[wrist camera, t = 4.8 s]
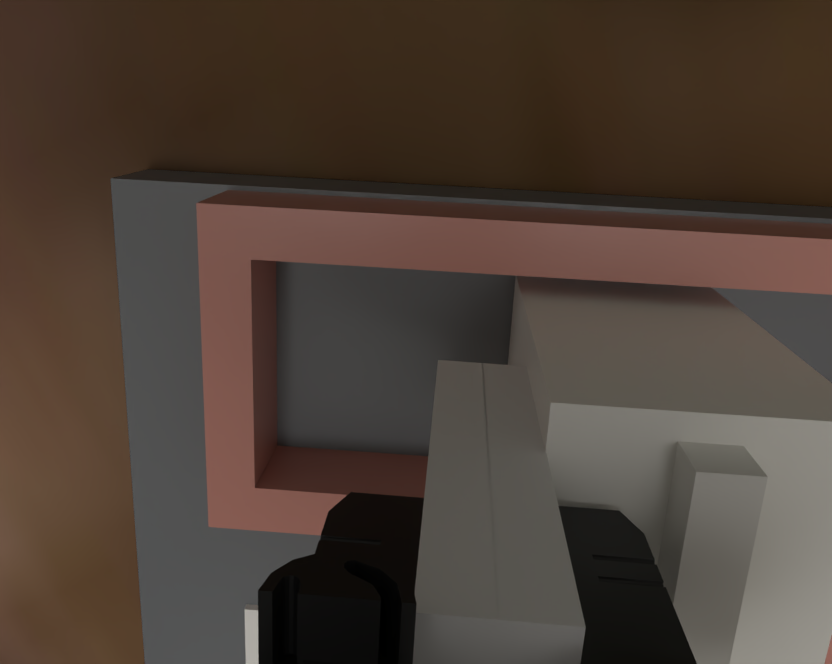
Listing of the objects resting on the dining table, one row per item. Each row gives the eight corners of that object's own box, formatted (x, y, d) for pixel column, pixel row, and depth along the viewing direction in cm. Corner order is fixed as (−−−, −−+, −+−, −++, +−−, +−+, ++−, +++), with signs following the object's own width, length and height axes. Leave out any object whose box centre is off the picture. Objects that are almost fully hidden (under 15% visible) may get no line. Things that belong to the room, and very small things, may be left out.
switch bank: (148, 169, 18) (63, 190, 14) (1215, 228, 17) (1431, 267, 13) (177, 689, 23) (118, 810, 19) (1022, 761, 22) (1142, 906, 18)
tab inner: (515, 274, 16) (558, 429, 9) (709, 286, 16) (921, 454, 9) (500, 447, 17) (526, 714, 10) (680, 459, 17) (843, 741, 10)
